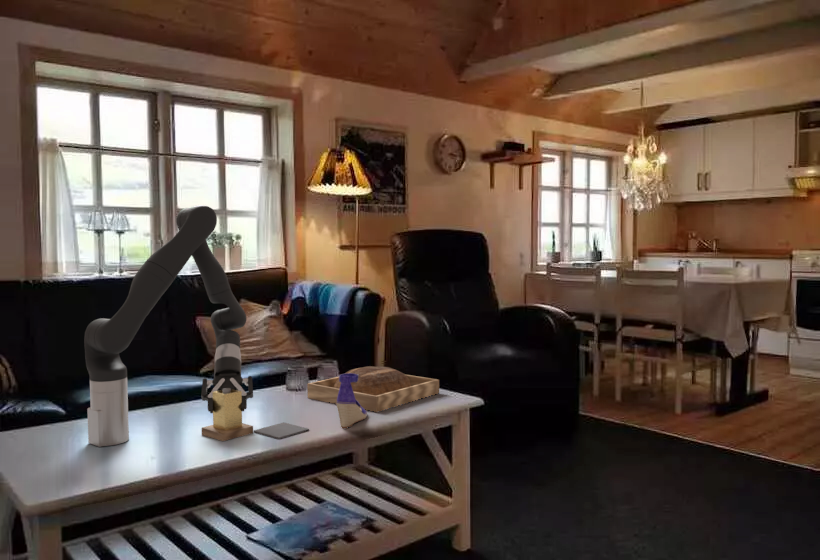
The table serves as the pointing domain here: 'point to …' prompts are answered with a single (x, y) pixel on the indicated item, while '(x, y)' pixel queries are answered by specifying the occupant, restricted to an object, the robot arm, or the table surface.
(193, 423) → the table surface
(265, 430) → the mat
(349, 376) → the purple wedge sandal
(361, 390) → the bread
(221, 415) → the sleeve
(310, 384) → the bread tray
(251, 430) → the peg stand
